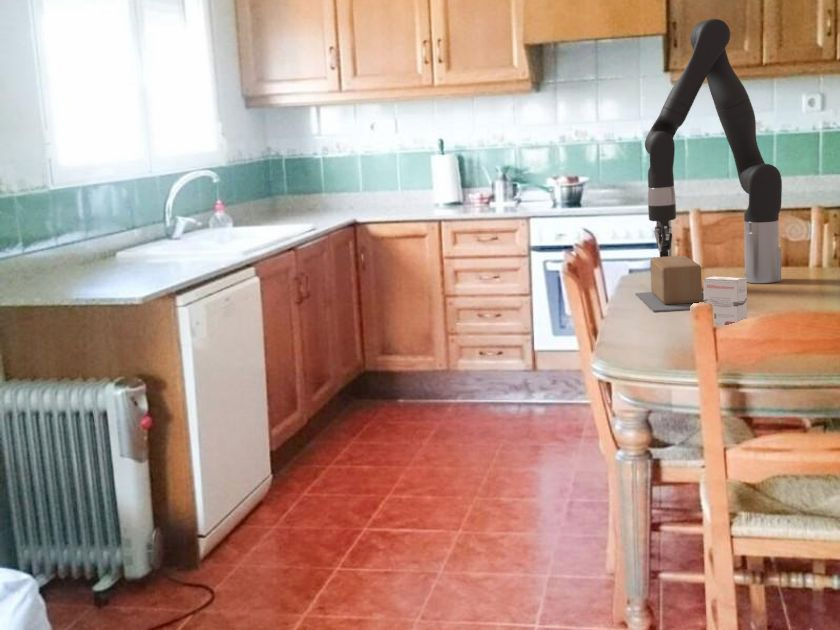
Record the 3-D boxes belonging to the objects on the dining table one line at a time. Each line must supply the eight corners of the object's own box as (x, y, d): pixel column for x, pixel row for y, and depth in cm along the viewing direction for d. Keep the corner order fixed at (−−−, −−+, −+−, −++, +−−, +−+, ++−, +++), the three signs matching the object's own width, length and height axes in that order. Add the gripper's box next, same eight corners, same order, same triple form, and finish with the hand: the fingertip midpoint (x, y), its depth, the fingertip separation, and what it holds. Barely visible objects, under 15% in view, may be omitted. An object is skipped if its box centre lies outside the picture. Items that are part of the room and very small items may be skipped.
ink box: (748, 328, 239) (747, 276, 237) (738, 332, 236) (737, 280, 234) (713, 325, 245) (712, 275, 243) (702, 329, 242) (701, 278, 239)
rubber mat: (697, 291, 292) (697, 289, 292) (721, 308, 265) (721, 306, 265) (635, 294, 293) (635, 293, 292) (653, 312, 266) (653, 310, 266)
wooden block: (686, 254, 288) (701, 264, 269) (687, 290, 290) (702, 303, 271) (649, 257, 289) (662, 267, 269) (650, 293, 291) (663, 305, 271)
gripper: (680, 203, 289) (682, 266, 292) (670, 200, 302) (672, 260, 305) (652, 206, 289) (655, 268, 292) (644, 202, 302) (646, 262, 305)
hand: (664, 264), depth 299 cm, fingers closed
